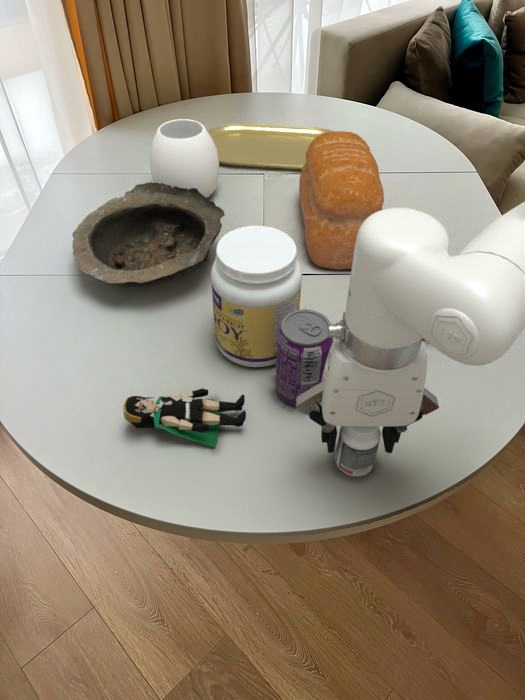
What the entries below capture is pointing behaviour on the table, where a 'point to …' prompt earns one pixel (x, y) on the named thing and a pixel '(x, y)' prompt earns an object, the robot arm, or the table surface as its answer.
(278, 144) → the serving platter
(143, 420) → the figurine
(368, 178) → the bread
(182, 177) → the white vase
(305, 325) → the beverage can
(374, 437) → the pill bottle
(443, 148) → the table surface
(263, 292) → the supplement tub
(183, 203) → the stone bowl
